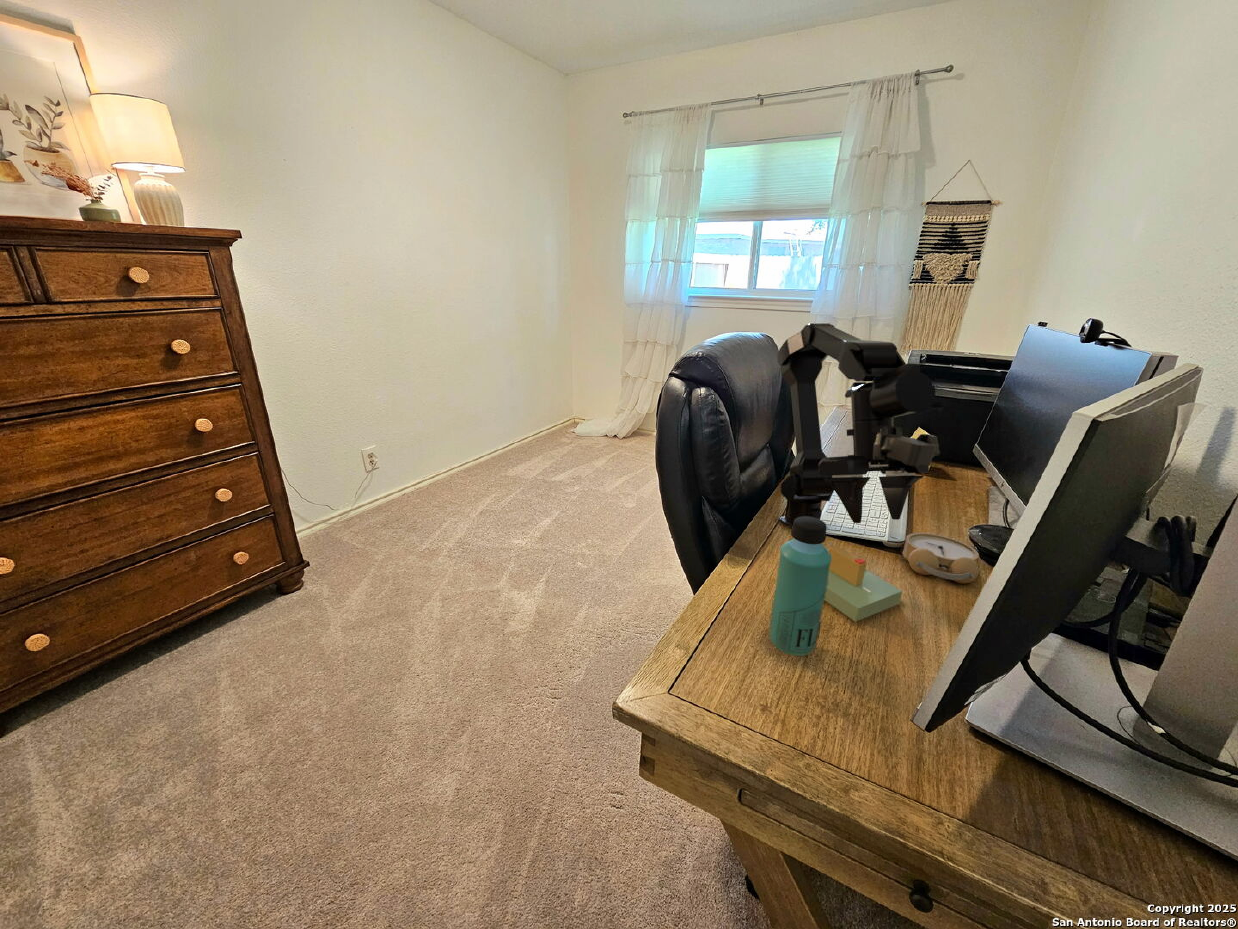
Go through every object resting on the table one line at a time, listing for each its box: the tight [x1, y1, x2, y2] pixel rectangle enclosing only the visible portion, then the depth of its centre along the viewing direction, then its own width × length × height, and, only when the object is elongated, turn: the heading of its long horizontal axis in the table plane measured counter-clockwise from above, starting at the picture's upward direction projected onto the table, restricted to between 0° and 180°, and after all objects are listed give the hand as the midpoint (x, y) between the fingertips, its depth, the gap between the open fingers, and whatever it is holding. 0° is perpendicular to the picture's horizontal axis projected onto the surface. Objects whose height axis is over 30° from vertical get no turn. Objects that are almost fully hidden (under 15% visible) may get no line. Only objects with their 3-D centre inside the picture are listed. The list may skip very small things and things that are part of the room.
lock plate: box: [824, 549, 903, 623], centre depth 80 cm, size 14×10×3 cm
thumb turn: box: [828, 544, 868, 586], centre depth 79 cm, size 6×2×4 cm, turn 26°
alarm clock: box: [902, 532, 980, 585], centre depth 86 cm, size 11×5×15 cm
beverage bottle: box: [768, 516, 831, 657], centre depth 64 cm, size 6×7×20 cm
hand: (877, 521), depth 75 cm, fingers open, 9 cm apart
